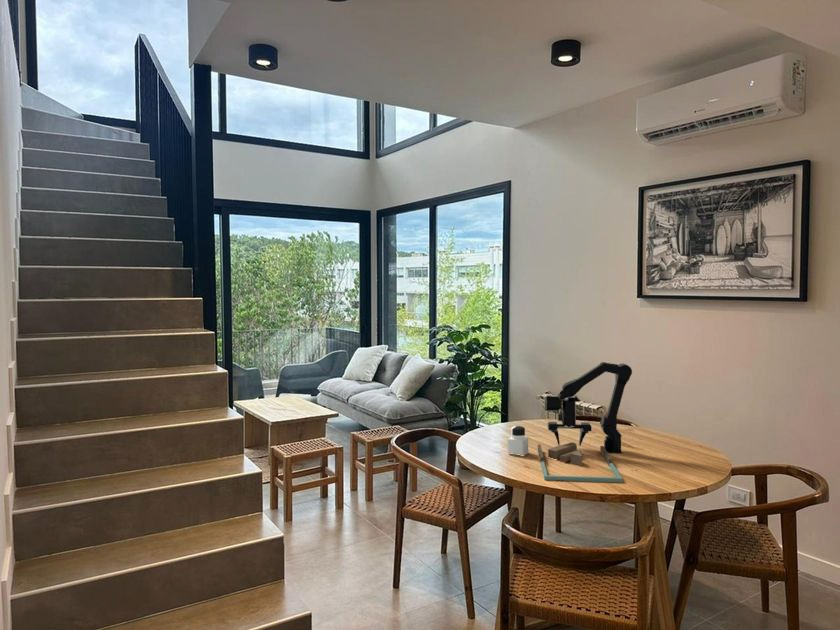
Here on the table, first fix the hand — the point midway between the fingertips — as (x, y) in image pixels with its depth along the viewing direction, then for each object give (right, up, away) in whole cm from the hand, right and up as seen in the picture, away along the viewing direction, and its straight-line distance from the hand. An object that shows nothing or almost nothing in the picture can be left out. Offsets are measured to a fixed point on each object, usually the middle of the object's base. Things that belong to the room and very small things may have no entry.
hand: (569, 445), depth 256 cm
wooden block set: (-1, -3, -13) cm, 14 cm away
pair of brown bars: (-2, -3, -13) cm, 14 cm away
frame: (-5, -3, -33) cm, 33 cm away
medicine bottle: (-24, -3, -5) cm, 25 cm away
